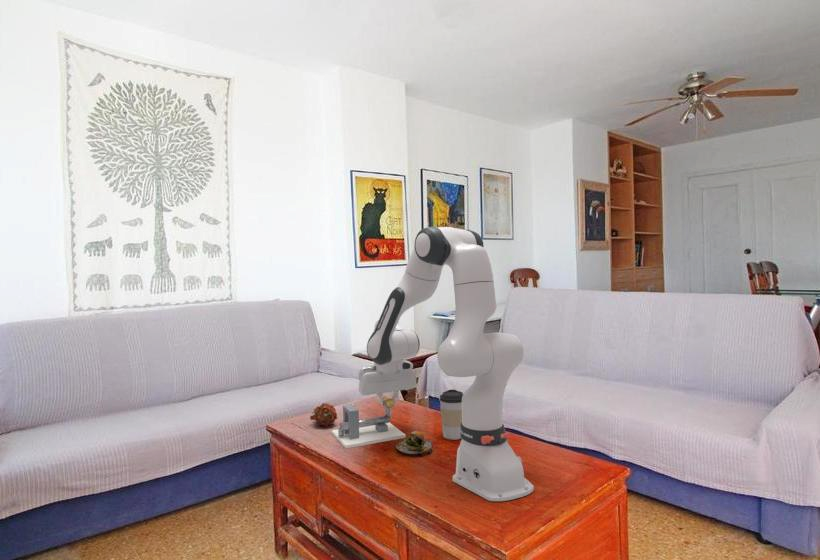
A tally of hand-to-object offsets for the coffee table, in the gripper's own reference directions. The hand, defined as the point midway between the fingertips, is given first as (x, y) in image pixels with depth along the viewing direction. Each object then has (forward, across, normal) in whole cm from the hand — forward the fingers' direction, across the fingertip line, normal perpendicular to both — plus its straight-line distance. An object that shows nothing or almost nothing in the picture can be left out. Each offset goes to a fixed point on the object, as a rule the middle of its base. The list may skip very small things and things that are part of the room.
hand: (387, 404), depth 171 cm
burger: (+10, +1, -19) cm, 22 cm away
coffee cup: (+10, +18, -14) cm, 25 cm away
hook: (+8, -8, 0) cm, 12 cm away
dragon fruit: (+10, -18, +18) cm, 27 cm away
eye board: (+10, -7, 0) cm, 12 cm away
